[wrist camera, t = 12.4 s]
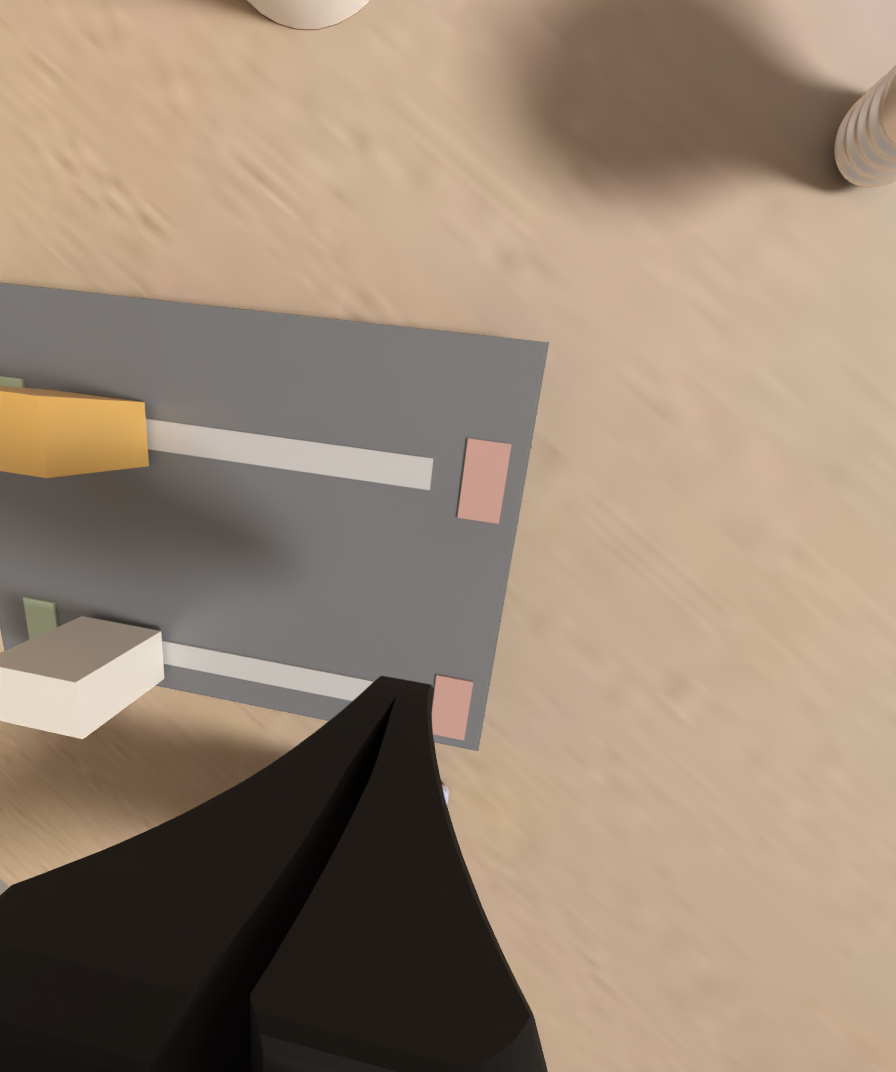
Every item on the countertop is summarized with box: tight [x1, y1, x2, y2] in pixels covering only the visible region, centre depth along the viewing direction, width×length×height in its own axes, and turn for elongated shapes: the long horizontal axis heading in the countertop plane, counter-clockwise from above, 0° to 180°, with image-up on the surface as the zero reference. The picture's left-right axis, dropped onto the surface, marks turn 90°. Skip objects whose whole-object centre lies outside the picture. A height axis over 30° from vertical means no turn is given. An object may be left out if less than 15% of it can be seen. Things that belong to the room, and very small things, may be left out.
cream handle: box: [0, 616, 164, 739], centre depth 18 cm, size 2×4×4 cm, turn 83°
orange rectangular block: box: [0, 386, 149, 478], centre depth 15 cm, size 2×4×4 cm, turn 83°
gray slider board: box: [0, 283, 549, 751], centre depth 19 cm, size 17×24×2 cm
